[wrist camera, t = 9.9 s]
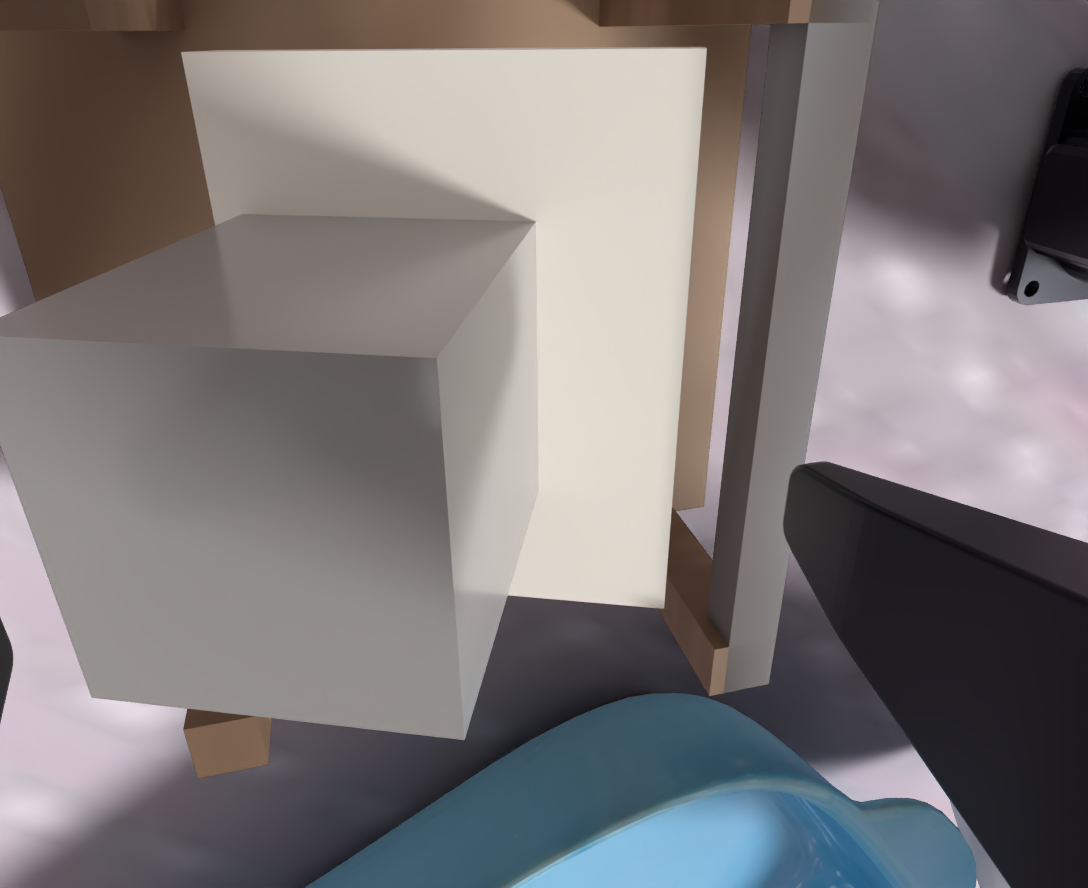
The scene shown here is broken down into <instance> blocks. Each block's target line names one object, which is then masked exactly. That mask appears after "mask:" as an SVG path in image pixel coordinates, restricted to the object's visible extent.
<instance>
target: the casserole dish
mask: <svg viewBox="0 0 1088 888" xmlns="http://www.w3.org/2000/svg"><path fill="white" fill-rule="evenodd" d="M975 886H976V863H975V859H974V856H973V853H972V850H971V848H970V846H969V845H968V843H967V842H966V840H965V838H964V837H963V835H962V833H961V832H960V830H959V829H958V828H957V827H956V826H955V825H954V824H953V823H952V822H951V821H950V820H949V819H948V817H947V816H946V815H945V814H944V813H943V812H942V811H940V810H938V809H936V808H935V807H933V806H931V805H930V804H928V803H925V802H922V801H919V800H915V799H910V798H884V799H878V800H871V801H865V802H859V801H854V800H852V799H850V798H849V797H847V796H846V795H845V794H843V793H842V792H841V791H839V790H838V789H837V788H835V787H834V786H832V785H831V784H830V783H829V782H828V781H827V780H826V779H825V778H824V777H822V776H821V775H820V774H819V773H818V772H817V771H816V770H815V769H813V768H812V767H811V766H810V765H809V764H808V763H807V762H806V761H804V760H803V759H802V758H801V757H800V756H798V755H797V754H796V753H795V752H794V751H792V750H791V749H790V748H789V747H788V746H786V745H785V744H784V743H783V742H782V741H781V740H779V739H778V738H777V737H775V736H774V735H773V734H771V733H770V732H769V731H767V730H766V729H765V728H763V727H762V726H761V725H759V724H758V723H757V722H755V721H754V720H752V719H750V718H749V717H747V716H745V715H744V714H742V713H740V712H739V711H737V710H735V709H733V708H732V707H730V706H728V705H725V704H723V703H720V702H718V701H715V700H712V699H709V698H706V697H703V696H698V695H692V694H684V693H656V694H646V695H640V696H633V697H628V698H625V699H621V700H618V701H615V702H612V703H609V704H606V705H603V706H600V707H598V708H596V709H593V710H591V711H588V712H586V713H583V714H581V715H578V716H576V717H574V718H572V719H570V720H568V721H566V722H564V723H562V724H560V725H558V726H556V727H554V728H552V729H550V730H549V731H547V732H545V733H543V734H541V735H539V736H537V737H535V738H533V739H531V740H530V741H528V742H527V743H525V744H523V745H522V746H520V747H518V748H517V749H515V750H513V751H512V752H510V753H509V754H507V755H505V756H504V757H502V758H500V759H499V760H497V761H495V762H494V763H492V764H490V765H489V766H487V767H486V768H484V769H483V770H481V771H480V772H478V773H477V774H475V775H474V776H472V777H471V778H469V779H468V780H466V781H465V782H463V783H462V784H460V785H459V786H457V787H456V788H454V789H453V790H451V791H450V792H448V793H447V794H445V795H444V796H442V797H441V798H439V799H438V800H436V801H435V802H433V803H432V804H430V805H429V806H427V807H426V808H424V809H423V810H421V811H420V812H418V813H417V814H415V815H414V816H412V817H411V818H409V819H408V820H406V821H405V822H403V823H402V824H400V825H399V826H397V827H396V828H394V829H393V830H391V831H390V832H388V833H387V834H385V835H384V836H382V837H381V838H379V839H378V840H376V841H375V842H373V843H372V844H370V845H369V846H367V847H366V848H364V849H363V850H361V851H360V852H358V853H357V854H355V855H354V856H352V857H351V858H349V859H348V860H346V861H344V862H343V863H341V864H340V865H338V866H337V867H335V868H334V869H332V870H331V871H329V872H328V873H326V874H325V875H323V876H321V877H320V878H318V879H317V880H315V881H314V882H312V883H311V884H309V885H308V886H306V887H305V888H975Z"/></svg>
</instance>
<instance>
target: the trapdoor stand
mask: <svg viewBox="0 0 1088 888" xmlns="http://www.w3.org/2000/svg"><path fill="white" fill-rule="evenodd" d="M879 1H880V0H0V187H1V190H2V193H3V196H4V200H5V203H6V206H7V209H8V212H9V216H10V219H11V222H12V225H13V228H14V232H15V235H16V238H17V241H18V244H19V248H20V251H21V254H22V257H23V260H24V263H25V267H26V270H27V273H28V276H29V279H30V283H31V286H32V289H33V292H34V295H35V299H36V302H37V301H40V300H42V299H44V298H47V297H49V296H51V295H54V294H56V293H58V292H61V291H63V290H65V289H68V288H70V287H72V286H75V285H77V284H79V283H82V282H84V281H86V280H89V279H91V278H94V277H96V276H98V275H101V274H103V273H105V272H108V271H110V270H112V269H115V268H117V267H119V266H122V265H124V264H126V263H129V262H131V261H133V260H136V259H138V258H140V257H143V256H145V255H147V254H150V253H152V252H154V251H157V250H159V249H161V248H164V247H166V246H168V245H171V244H173V243H175V242H178V241H180V240H182V239H185V238H187V237H189V236H192V235H194V234H196V233H199V232H201V231H203V230H206V229H208V228H211V227H213V226H215V222H214V217H213V212H212V207H211V202H210V197H209V192H208V187H207V182H206V177H205V171H204V166H203V161H202V156H201V151H200V146H199V141H198V136H197V131H196V126H195V121H194V116H193V111H192V106H191V100H190V95H189V90H188V85H187V80H186V75H185V70H184V65H183V60H182V55H181V52H192V51H213V50H311V49H450V48H589V47H706V48H707V54H706V67H705V80H704V93H703V107H702V120H701V133H700V146H699V159H698V172H697V185H696V198H695V211H694V224H693V237H692V250H691V263H690V276H689V289H688V303H687V316H686V329H685V342H684V355H683V368H682V381H681V394H680V407H679V420H678V433H677V446H676V459H675V472H674V486H673V499H672V512H671V525H670V538H669V551H668V564H667V577H666V590H665V603H664V609H661V608H657V609H658V611H659V612H660V614H661V616H662V617H663V619H664V621H665V623H666V624H667V626H668V628H669V629H670V631H671V633H672V634H673V636H674V638H675V639H676V641H677V643H678V644H679V646H680V648H681V650H682V651H683V653H684V655H685V656H686V658H687V660H688V661H689V663H690V665H691V666H692V668H693V670H694V671H695V673H696V675H697V677H698V678H699V680H700V682H701V683H702V685H703V687H704V688H705V690H706V692H707V693H708V695H709V696H713V695H718V694H723V693H727V692H732V691H737V690H742V689H747V688H752V687H757V686H762V685H766V684H769V679H770V673H771V667H772V661H773V654H774V648H775V642H776V636H777V630H778V624H779V617H780V611H781V605H782V599H783V593H784V587H785V580H786V574H787V568H788V562H789V556H790V550H791V549H790V547H789V545H788V543H787V541H786V539H785V536H784V532H783V516H784V510H785V503H786V496H787V490H788V483H789V478H790V474H791V472H792V470H793V469H794V468H795V467H796V466H798V465H802V464H804V463H805V457H806V451H807V445H808V439H809V432H810V426H811V420H812V414H813V408H814V402H815V395H816V389H817V383H818V377H819V371H820V365H821V358H822V352H823V346H824V340H825V334H826V328H827V321H828V315H829V309H830V303H831V297H832V291H833V284H834V278H835V272H836V266H837V260H838V254H839V247H840V241H841V235H842V229H843V223H844V217H845V210H846V204H847V198H848V192H849V186H850V180H851V173H852V167H853V161H854V155H855V149H856V143H857V136H858V130H859V124H860V118H861V112H862V106H863V99H864V93H865V87H866V81H867V75H868V69H869V62H870V56H871V50H872V44H873V38H874V32H875V25H876V19H877V13H878V7H879ZM756 24H771V29H770V38H769V47H768V56H767V65H766V75H765V84H764V93H763V102H762V112H761V121H760V130H759V139H758V148H757V158H756V167H755V176H754V185H753V195H752V204H751V213H750V222H749V232H748V241H747V250H746V259H745V268H744V278H743V287H742V296H741V305H740V315H739V324H738V333H737V342H736V351H735V361H734V370H733V379H732V388H731V398H730V407H729V416H728V425H727V434H726V444H725V453H724V462H723V471H722V481H721V490H720V499H719V508H718V517H717V527H716V536H715V545H714V554H713V560H712V559H711V558H710V556H709V555H708V554H707V552H706V551H705V550H704V548H703V547H702V546H701V544H700V543H699V542H698V540H697V539H696V538H695V536H694V535H693V534H692V532H691V531H690V530H689V528H688V527H687V526H686V524H685V523H684V522H683V520H682V519H681V518H680V516H679V515H678V514H677V512H676V511H679V510H686V509H693V508H699V507H704V500H705V490H706V479H707V469H708V459H709V449H710V439H711V429H712V418H713V408H714V398H715V388H716V378H717V368H718V357H719V347H720V337H721V327H722V317H723V306H724V296H725V286H726V276H727V266H728V256H729V245H730V235H731V225H732V215H733V205H734V195H735V184H736V174H737V164H738V154H739V144H740V134H741V123H742V113H743V103H744V93H745V83H746V72H747V62H748V52H749V42H750V32H751V25H756ZM183 730H184V734H185V737H186V740H187V743H188V747H189V750H190V753H191V757H192V760H193V763H194V767H195V770H196V773H197V777H198V778H203V777H208V776H213V775H218V774H223V773H228V772H233V771H238V770H243V769H248V768H253V767H258V766H263V765H268V764H269V749H270V734H271V718H266V717H257V716H249V715H240V714H231V713H222V712H214V711H205V710H196V709H187V713H186V719H185V724H184V729H183Z"/></svg>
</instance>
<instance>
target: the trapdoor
mask: <svg viewBox="0 0 1088 888" xmlns="http://www.w3.org/2000/svg"><path fill="white" fill-rule="evenodd" d="M706 54H707V48H706V47H589V48H450V49H311V50H213V51H192V52H181V55H182V60H183V65H184V70H185V75H186V80H187V85H188V90H189V95H190V100H191V106H192V111H193V116H194V121H195V126H196V131H197V136H198V141H199V146H200V151H201V156H202V161H203V166H204V171H205V177H206V182H207V187H208V192H209V197H210V202H211V207H212V212H213V217H214V222H215V225H218V224H220V223H222V222H225V221H227V220H229V219H232V218H234V217H236V216H239V215H241V214H258V215H297V216H336V217H376V218H415V219H454V220H493V221H532V222H536V262H537V359H538V455H539V492H538V495H537V499H536V502H535V506H534V509H533V512H532V516H531V519H530V522H529V526H528V529H527V532H526V536H525V539H524V542H523V546H522V549H521V553H520V556H519V559H518V563H517V566H516V569H515V573H514V576H513V579H512V583H511V586H510V589H509V593H508V595H510V596H521V597H533V598H544V599H556V600H568V601H579V602H591V603H603V604H614V605H626V606H637V607H649V608H661V609H664V603H665V590H666V577H667V564H668V551H669V538H670V525H671V512H672V499H673V486H674V472H675V459H676V446H677V433H678V420H679V407H680V394H681V381H682V368H683V355H684V342H685V329H686V316H687V303H688V289H689V276H690V263H691V250H692V237H693V224H694V211H695V198H696V185H697V172H698V159H699V146H700V133H701V120H702V107H703V93H704V80H705V67H706Z"/></svg>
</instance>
